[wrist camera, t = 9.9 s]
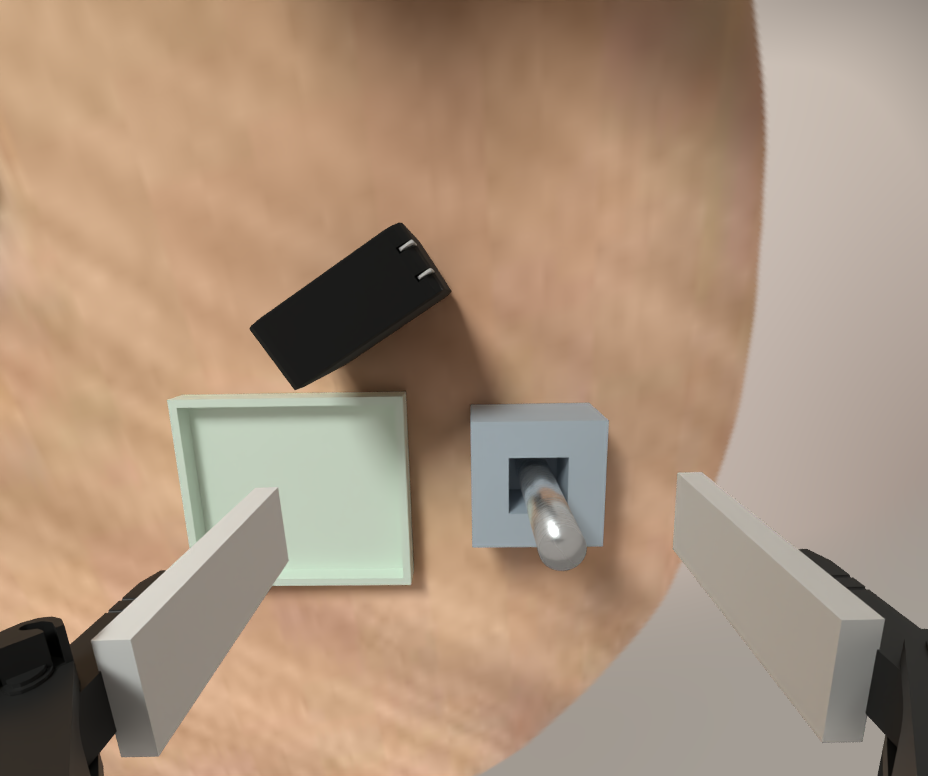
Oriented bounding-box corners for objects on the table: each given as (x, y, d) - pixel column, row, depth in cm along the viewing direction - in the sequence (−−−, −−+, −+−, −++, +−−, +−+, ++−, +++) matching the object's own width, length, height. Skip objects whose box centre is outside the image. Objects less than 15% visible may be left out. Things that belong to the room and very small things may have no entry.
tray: (182, 394, 35) (167, 400, 33) (405, 391, 34) (402, 396, 32) (208, 572, 38) (195, 586, 36) (414, 571, 37) (411, 584, 35)
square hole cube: (470, 404, 34) (470, 422, 29) (588, 402, 34) (608, 420, 29) (472, 513, 36) (472, 547, 31) (584, 512, 36) (602, 546, 31)
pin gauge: (514, 449, 34) (538, 526, 22) (546, 449, 34) (587, 526, 22) (514, 479, 34) (537, 570, 23) (546, 479, 34) (585, 570, 23)
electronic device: (309, 319, 33) (241, 329, 24) (420, 242, 32) (398, 217, 22) (342, 366, 34) (290, 394, 24) (452, 292, 33) (445, 289, 23)
